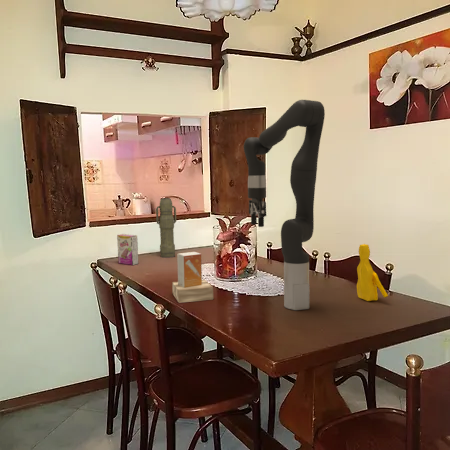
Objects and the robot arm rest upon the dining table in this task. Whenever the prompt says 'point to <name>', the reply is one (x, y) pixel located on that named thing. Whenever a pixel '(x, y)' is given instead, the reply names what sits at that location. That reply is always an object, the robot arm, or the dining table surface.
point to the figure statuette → (367, 277)
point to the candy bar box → (127, 249)
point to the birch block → (192, 292)
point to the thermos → (166, 227)
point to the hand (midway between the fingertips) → (257, 225)
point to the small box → (189, 269)
